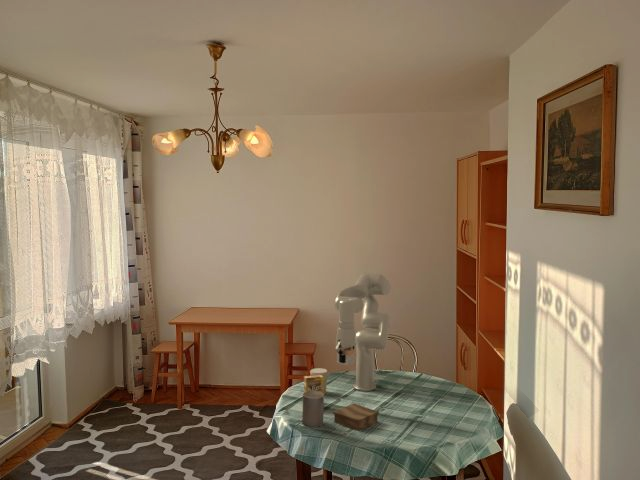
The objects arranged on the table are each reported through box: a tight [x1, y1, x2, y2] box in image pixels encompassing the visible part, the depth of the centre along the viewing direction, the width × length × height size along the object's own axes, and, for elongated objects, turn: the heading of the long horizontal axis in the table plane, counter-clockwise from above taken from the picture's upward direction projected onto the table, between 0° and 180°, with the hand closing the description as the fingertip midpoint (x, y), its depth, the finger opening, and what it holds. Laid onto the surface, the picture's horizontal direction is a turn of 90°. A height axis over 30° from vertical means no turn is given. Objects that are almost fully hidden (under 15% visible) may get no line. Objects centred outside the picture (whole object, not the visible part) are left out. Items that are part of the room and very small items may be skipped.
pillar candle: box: [301, 391, 325, 428], centre depth 265 cm, size 10×10×15 cm
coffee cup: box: [309, 367, 329, 395], centre depth 308 cm, size 9×9×12 cm
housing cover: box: [341, 348, 355, 355], centre depth 284 cm, size 4×7×2 cm, turn 47°
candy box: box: [303, 375, 323, 393], centre depth 287 cm, size 9×4×15 cm, turn 107°
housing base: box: [336, 352, 356, 366], centre depth 285 cm, size 5×7×5 cm
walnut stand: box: [332, 403, 380, 432], centre depth 268 cm, size 15×15×5 cm
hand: (345, 361), depth 285 cm, fingers closed on housing base, 5 cm apart
